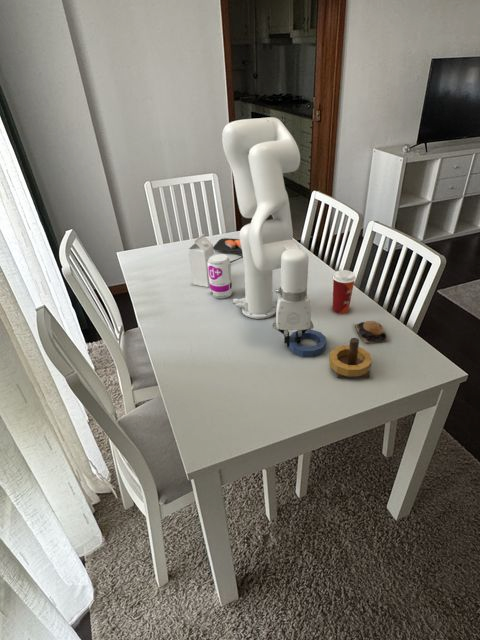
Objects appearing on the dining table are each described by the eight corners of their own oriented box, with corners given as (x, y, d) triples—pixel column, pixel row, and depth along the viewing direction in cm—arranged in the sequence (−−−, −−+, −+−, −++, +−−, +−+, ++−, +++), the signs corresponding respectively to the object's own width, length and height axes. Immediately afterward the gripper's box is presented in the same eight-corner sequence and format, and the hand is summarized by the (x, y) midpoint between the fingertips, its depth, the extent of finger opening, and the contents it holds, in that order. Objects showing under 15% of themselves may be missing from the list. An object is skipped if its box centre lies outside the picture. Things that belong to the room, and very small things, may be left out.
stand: (337, 378, 116) (340, 349, 110) (333, 358, 123) (336, 331, 117) (369, 378, 115) (374, 349, 110) (363, 358, 123) (368, 331, 117)
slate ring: (289, 357, 124) (289, 350, 123) (288, 335, 133) (288, 329, 132) (327, 357, 124) (328, 350, 122) (324, 335, 133) (324, 329, 131)
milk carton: (192, 284, 164) (186, 239, 153) (201, 277, 169) (196, 232, 158) (208, 287, 162) (203, 241, 150) (216, 279, 167) (212, 234, 156)
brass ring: (332, 376, 114) (333, 369, 112) (327, 352, 123) (327, 345, 122) (374, 376, 114) (375, 369, 112) (365, 351, 123) (367, 344, 122)
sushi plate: (279, 245, 195) (279, 237, 192) (265, 272, 171) (265, 264, 169) (221, 241, 200) (220, 233, 198) (199, 267, 177) (198, 259, 175)
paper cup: (351, 316, 142) (355, 280, 134) (329, 314, 143) (332, 278, 135) (351, 305, 148) (356, 269, 140) (330, 303, 149) (333, 268, 141)
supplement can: (224, 301, 152) (220, 264, 144) (206, 296, 156) (202, 259, 147) (236, 292, 158) (234, 255, 149) (219, 287, 162) (216, 251, 153)
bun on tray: (353, 326, 137) (354, 316, 135) (377, 324, 138) (379, 314, 136) (363, 344, 129) (365, 334, 127) (389, 341, 129) (391, 332, 127)
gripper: (265, 299, 115) (266, 351, 126) (322, 299, 114) (318, 351, 125) (266, 286, 121) (267, 337, 132) (320, 286, 120) (317, 337, 131)
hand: (292, 344), depth 128 cm, fingers closed on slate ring, 2 cm apart
